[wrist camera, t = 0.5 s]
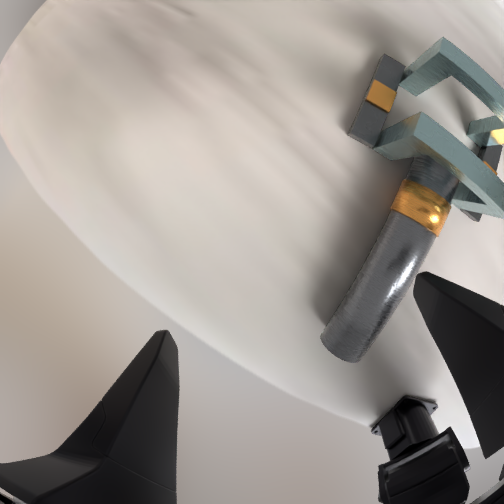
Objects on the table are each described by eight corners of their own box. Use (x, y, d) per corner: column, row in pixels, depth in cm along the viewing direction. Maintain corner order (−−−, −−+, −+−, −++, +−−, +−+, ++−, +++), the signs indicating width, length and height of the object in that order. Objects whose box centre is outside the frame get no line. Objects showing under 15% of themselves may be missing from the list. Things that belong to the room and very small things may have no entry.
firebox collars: (496, 146, 17) (547, 143, 9) (472, 220, 19) (525, 236, 12) (380, 58, 17) (413, 17, 9) (347, 135, 19) (378, 113, 12)
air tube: (413, 134, 18) (438, 126, 14) (450, 162, 18) (479, 161, 14) (316, 324, 23) (321, 353, 19) (356, 341, 23) (367, 369, 19)
